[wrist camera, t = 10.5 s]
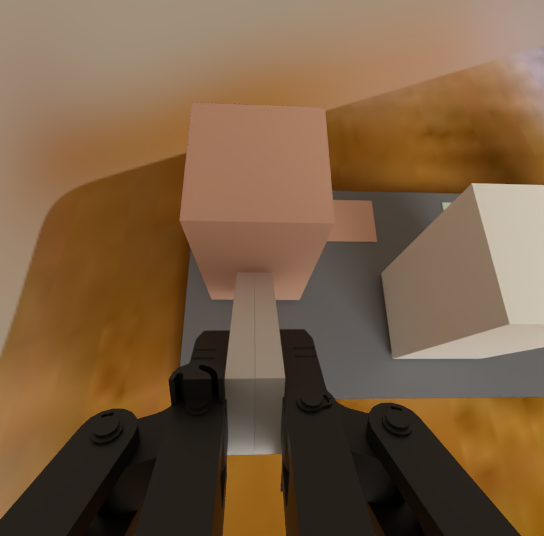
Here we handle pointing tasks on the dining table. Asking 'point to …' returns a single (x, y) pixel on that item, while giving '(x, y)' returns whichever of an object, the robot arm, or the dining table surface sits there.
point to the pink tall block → (257, 194)
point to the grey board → (370, 310)
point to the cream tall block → (471, 278)
